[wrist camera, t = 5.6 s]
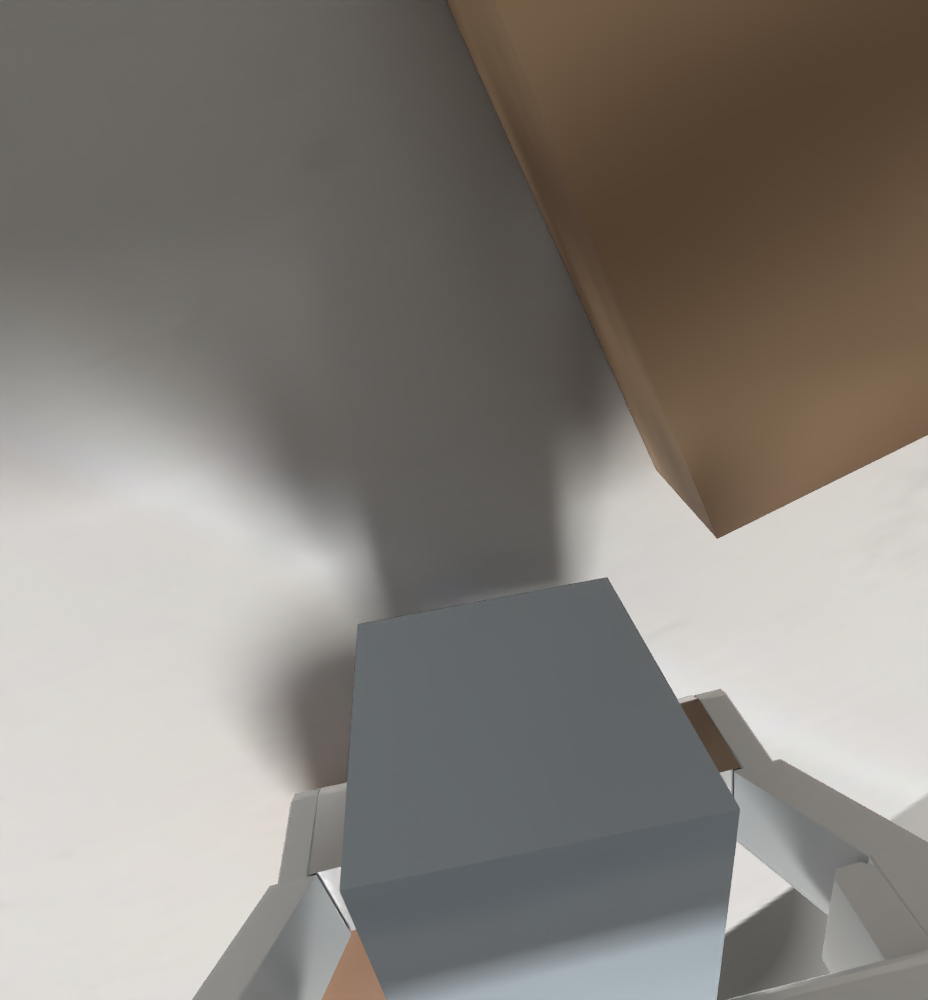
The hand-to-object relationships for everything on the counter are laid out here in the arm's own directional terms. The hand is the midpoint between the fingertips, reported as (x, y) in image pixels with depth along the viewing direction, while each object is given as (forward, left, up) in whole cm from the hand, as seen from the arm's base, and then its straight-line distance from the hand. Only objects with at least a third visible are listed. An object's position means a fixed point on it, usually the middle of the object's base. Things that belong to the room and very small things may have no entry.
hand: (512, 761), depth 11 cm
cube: (0, 0, -2) cm, 2 cm away
